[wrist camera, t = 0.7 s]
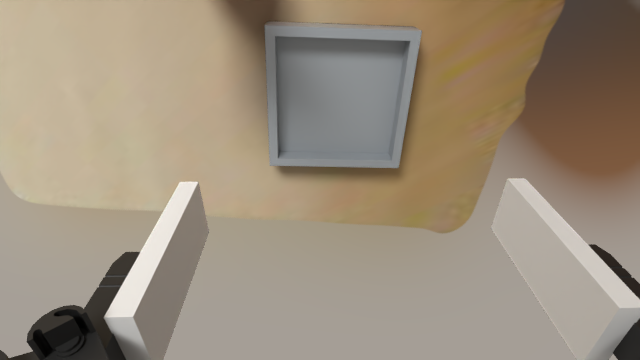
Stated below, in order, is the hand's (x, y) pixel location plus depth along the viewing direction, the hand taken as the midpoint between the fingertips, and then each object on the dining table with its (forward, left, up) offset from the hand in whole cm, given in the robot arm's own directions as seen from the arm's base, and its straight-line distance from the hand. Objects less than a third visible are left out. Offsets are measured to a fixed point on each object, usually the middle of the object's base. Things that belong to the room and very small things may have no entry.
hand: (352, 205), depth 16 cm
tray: (+4, +2, -29) cm, 30 cm away
